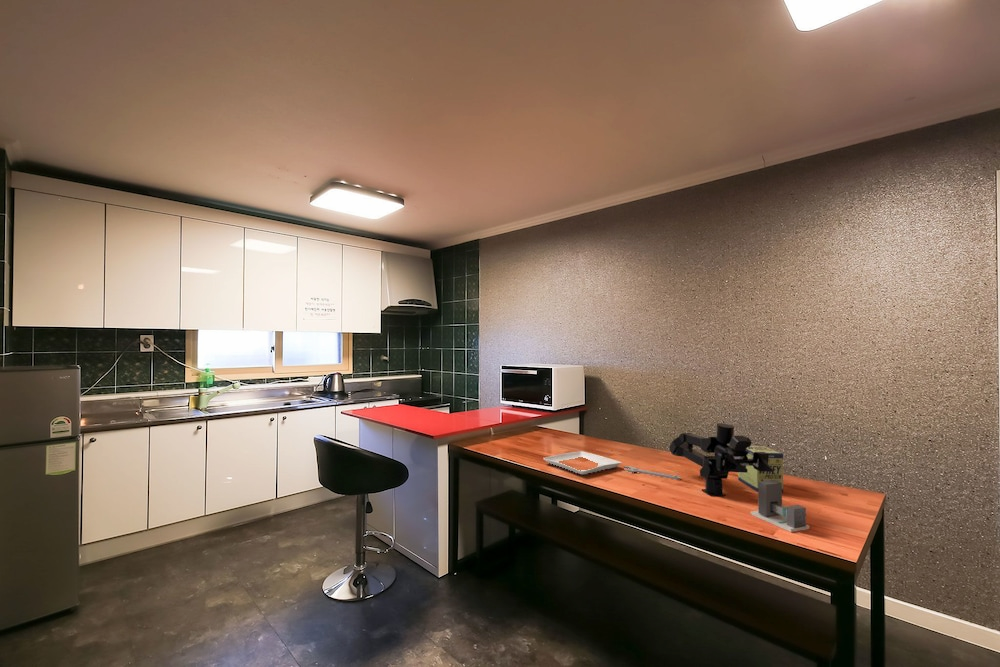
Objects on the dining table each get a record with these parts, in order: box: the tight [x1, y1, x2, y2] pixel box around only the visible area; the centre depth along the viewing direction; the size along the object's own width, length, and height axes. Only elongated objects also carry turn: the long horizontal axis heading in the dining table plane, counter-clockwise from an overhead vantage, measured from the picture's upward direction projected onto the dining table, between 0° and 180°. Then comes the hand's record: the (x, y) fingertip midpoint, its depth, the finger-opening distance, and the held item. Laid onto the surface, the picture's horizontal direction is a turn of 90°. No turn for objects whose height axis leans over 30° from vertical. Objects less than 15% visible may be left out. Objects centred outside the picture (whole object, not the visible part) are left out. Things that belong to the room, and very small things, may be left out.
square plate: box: [542, 450, 623, 475], centre depth 202 cm, size 27×27×4 cm
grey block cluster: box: [770, 502, 807, 528], centre depth 140 cm, size 14×5×6 cm, turn 17°
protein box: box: [737, 444, 784, 493], centre depth 176 cm, size 10×16×16 cm
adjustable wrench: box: [623, 465, 681, 481], centre depth 189 cm, size 25×6×2 cm, turn 51°
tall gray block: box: [757, 480, 783, 516], centre depth 143 cm, size 3×7×11 cm, turn 107°
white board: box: [750, 509, 810, 533], centre depth 140 cm, size 14×8×1 cm, turn 17°
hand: (759, 470), depth 142 cm, fingers open, 9 cm apart
